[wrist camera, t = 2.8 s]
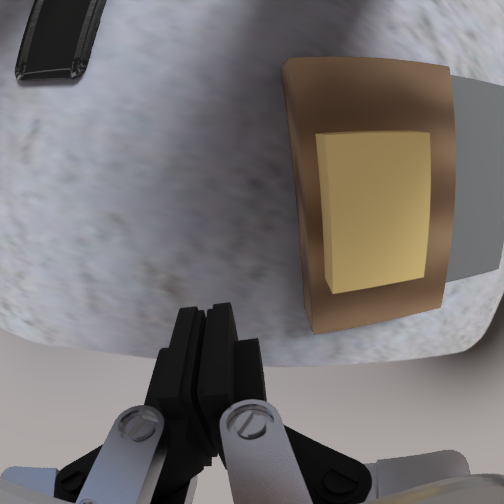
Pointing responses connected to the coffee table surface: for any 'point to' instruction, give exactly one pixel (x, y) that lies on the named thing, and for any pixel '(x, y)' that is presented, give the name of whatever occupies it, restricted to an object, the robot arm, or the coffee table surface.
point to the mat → (477, 178)
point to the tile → (374, 206)
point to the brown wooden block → (369, 119)
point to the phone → (58, 39)
